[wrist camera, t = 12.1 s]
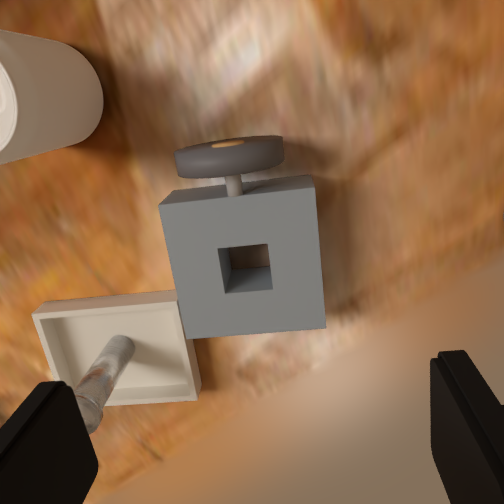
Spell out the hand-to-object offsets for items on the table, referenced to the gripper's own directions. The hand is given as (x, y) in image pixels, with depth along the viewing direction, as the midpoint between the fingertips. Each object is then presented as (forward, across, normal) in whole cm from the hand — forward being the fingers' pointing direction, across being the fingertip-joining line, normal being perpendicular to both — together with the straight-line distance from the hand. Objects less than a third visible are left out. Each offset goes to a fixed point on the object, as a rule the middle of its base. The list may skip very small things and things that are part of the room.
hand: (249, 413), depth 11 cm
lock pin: (+27, +18, +14) cm, 35 cm away
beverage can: (+28, +17, -10) cm, 34 cm away
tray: (+28, +17, +14) cm, 36 cm away
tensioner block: (+28, +3, +3) cm, 28 cm away
